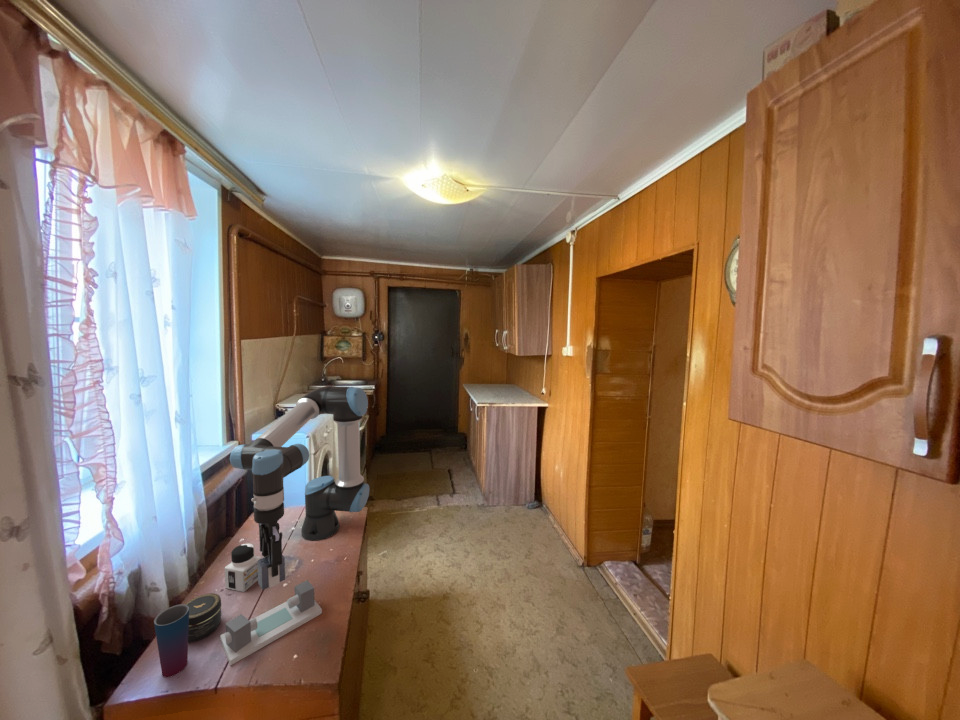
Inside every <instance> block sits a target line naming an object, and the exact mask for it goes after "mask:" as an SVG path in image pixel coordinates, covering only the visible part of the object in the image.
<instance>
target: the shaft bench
mask: <svg viewBox="0 0 960 720" xmlns="http://www.w3.org/2000/svg"><path fill="white" fill-rule="evenodd" d="M321 614H323V609H322V608H321V606H320V604H319V603H318V602H317V601H316V600H315V587H314V586H313V584H312V583H311V582H310V581H309V580H308V579H307V580H305V581H302V582H300V583H298V584H296V585H294V595H293V596H291V597H289V598H288V599H287V601H285V602H283V603H280V604H279V605H277V606H275V607H273V608H271V609H269V610H267V611H265V612H263V613H261V614H259V615H257V616H255V617H253V618H251V619H248V618H247V617H246V616H245V615H243V614H242V613H240V614H239V615H237V616H236V617H234V618H232V619H231V620H229V621H228V622H226V623H225V632H224V633H222V634H220V635H219V640H220V643H221V646H222V648H223V651H224V653H225V655H226V659H227V661H228V664H229V666H232V665H234V664H236V663H237V662H239V661H241V660H243V659H245V658H247V657H248V656H250V655H252V654H254V653H255V652H258V651H259V650H260V649H263V648H264V647H265V646H267V645H269V644H271V643H273V642H274V641H277V639H280V638H281V637H283V636H285V635H286V634H288V633H290V632H292V631H293V630H296V629H297V628H299V627H300V626H301V627H302V625H304V624H306V623H307V622H309V621H311V620H313V619H315V618H316V617H318V616H320V615H321Z"/></svg>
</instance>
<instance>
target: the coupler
mask: <svg viewBox="0 0 960 720" xmlns="http://www.w3.org/2000/svg"><path fill="white" fill-rule="evenodd" d="M285 558H286V557H285V556H284V555H283V554H282V564H281V565H279V576H280V583H281V582H283V581H285V580H286V565H285V564H286V561H285ZM267 565H269V557H268V556H267V557H265V558H263V557H262V558H261V559H260V560H258V561H257V566H258V581H257V583H258V585H259V587H260V589H261V590H262V591H263V590H266V589H268V588H269V585H268V568H267V567H266V566H267Z"/></svg>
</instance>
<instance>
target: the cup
mask: <svg viewBox="0 0 960 720" xmlns="http://www.w3.org/2000/svg"><path fill="white" fill-rule="evenodd" d="M185 604H186V603H185ZM185 604H183V603H181V604H176V605H173V606H170V607H167V608H166V609H164V610H163V611H161V612H160V613H158V615H156V617H155V618H154V620H153V624H154V625H153V626H154V630H155V638H156V642H157V649H158V656H159V662H160V668H161V669H160V670H161V676H162V677H163V678H172V677H173V676H177V675H178V674H180V673H181V672H183V670H184V669H185V668H186V666H187V665H188V662H189V661H188V659H189V658H188V657H189V656H188V655H189V654H188V653H189V642H188V628H189V607H188V606H187V605H185ZM171 676H172V677H171Z"/></svg>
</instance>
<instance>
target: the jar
mask: <svg viewBox="0 0 960 720" xmlns="http://www.w3.org/2000/svg"><path fill="white" fill-rule="evenodd" d="M221 599H222V598H221V596H220V595H219V594H218V593H212V592H211V593H204V594H200V595H198V596H196V597H193V598H192V599H190V600H188V601H187V602H186V603H185V605H187V606H188V607H189V628H188V643H189V642H190V643H191V642H196V641H201V640H202V639H205V638H207V637H208V636H210V635H211V634H213V632H214V631H216V630H217V628H218V627H219V625H220V623H221V620H222V600H221Z"/></svg>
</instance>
